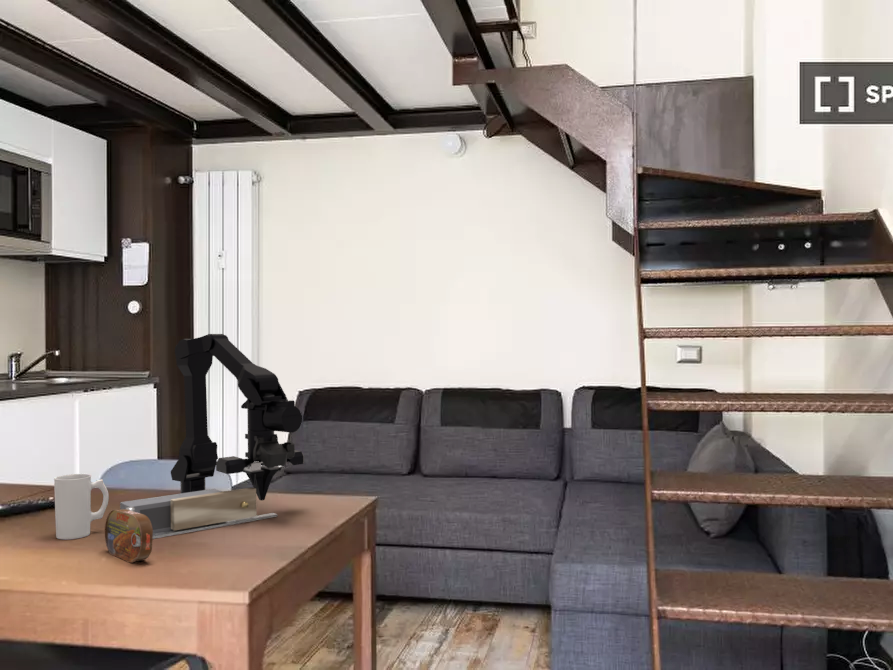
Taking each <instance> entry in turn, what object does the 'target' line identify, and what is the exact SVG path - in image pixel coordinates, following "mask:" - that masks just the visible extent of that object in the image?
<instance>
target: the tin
mask: <svg viewBox="0 0 893 670" xmlns="http://www.w3.org/2000/svg"><path fill="white" fill-rule="evenodd" d="M153 540H154V539H153V528H152V524H151V521H150V520H149V518H148V517H147V516H146V515H144V514H140V513H137V512H134V511H130V510H127V509H122V510H120V509H112V510H111V511H109V512H108V514H107V516H106V520H105V524H104V541H105V545H106V548H107V550H108V553H109V554H110V555H111V556H114V557H116V558H118V559H120V560H123V561H125V562H127V563H132V564H133V563H135V562H140V561H145V560H147V559H148V558H149V557H150V555H151V553H152V551H153V542H154V541H153Z"/></svg>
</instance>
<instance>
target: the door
mask: <svg viewBox="0 0 893 670" xmlns="http://www.w3.org/2000/svg"><path fill="white" fill-rule="evenodd" d="M255 516H257V494H256V488H254V487H253V486H252V487H245V488H238V489H231V490H225V491H222V492H217V493H211V494H204V495H197V496H191V497H184V498H177V499H171V529H172V530H174V531H175V530H181V529H186V528H192V527H198V526H203V525H209V524H215V523H220V522H226V521H232V520H237V519H243V518H249V517H255Z"/></svg>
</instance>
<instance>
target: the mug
mask: <svg viewBox="0 0 893 670" xmlns="http://www.w3.org/2000/svg"><path fill="white" fill-rule="evenodd" d="M53 480H54V485H53V486H54V487H53V488H54V514H55V516H54V517H55V538H57V539H58V540H64V541H65V540H66V541H67V540H75V539H82V538H85V537H88V536H90V535H91V523H92V522H93V521H94V520H101V519H102V518H103V517H104V515H105V512H106V510H107V507H108V505H109V500H110V499H109V498H110V496H109V495H110V494H109V491H108V488H107V487H106V485H105V483H104V481H103V478H102V479H98V480H95V481H94V482H93V481H92V474H88V473H74V474H73V473H72V474H64V475H63V474H62V475H59V476H56V477H53ZM95 488H96V489H99V490H100V491H101V493H102V496H103V497H102V498H103V499H102V504H101V506H100V508H99V509H98V510H97V511H94V512H93V511H92V509H91V506H92V505H91V502H92V501H91V498H92V497H91V495H92V490H93V489H95Z"/></svg>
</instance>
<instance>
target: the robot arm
mask: <svg viewBox="0 0 893 670" xmlns="http://www.w3.org/2000/svg"><path fill="white" fill-rule="evenodd" d="M174 355H175V361H176V366H177V368H178V370H179V371H180V372H181V374H182V376H183V378H184V379H183V381H184V383H183V384H184V408H185V409H184V413H185V414H184V416H185V417H184V418H185V438H184V439H183V441H182V443H181V445H180V446H179V449H178V450H179V452H178V460H177V461H176V463H175V464H174V466H173V468H172V469H171V470H170V476H171V480H172V481H176V482H180V485H179V486H180V494H181V493H188V492H195V491H202V490H207V489H206V478H211V477H214V475H215V472H219V473H223V474H226V475H231V474H240V473H245V474H246V477H248V479H249V481H250V482H251V484H252V488H256V497H257V499H258V500H259V501H265V499H266V497H267V493H268V490H269V487H270V485H271V481H272V480H273V477H274V476H275V475H276V474H277V472H279V471H282V467H286V465H287V463H290V464H291V466H297V465H303V464H305V455H304V453H303V451H300V450H296V449H295V443H294V442H293V441H287V442H286V441H285V442H283V443H279V441H278V440H279V439H278V434H277V433H275V432H280V433H291V434H293V433H295V432H296V431H298V430H299V429H300V427H301V425H302V423H303V415H302V413H301V412H302V411H300V409H299V407H297V406H295V405H296V404H295V403H296V402H295V400H292V399H291V400H289V399H288V397H287V395H286V393H285V391H284V389H283V388H282V386H281V384H280V382H279V378H278V376H277V375H276V373H274V372H272V371H270V370H269V369H267V368H265V367H263V366H259V365H256V364H255V363H254V362H252V361H251V360H250V359H249V358H248V357H247V356H246V355H245V354H244V353H243V352H242V351H241V350H239V348H238V347H236V345H235V344H233V343H232V342H231V341H230V339H229V337H228V336H227V335H226V334H224V333H208V334H206V335H202V336H200V337H196V338H183V339H182V338H181V339H180V340H178V342H177V344H176V345H175V347H174ZM214 357H215V359H216V360H218V362H220V363H221V364H222V365H223V367H224V368H225V369H226V370H227V371H229V372H230V374H232V375H233V376H234V377H235V379H236V380H237V388H238V389H239V390H240V392H241V393H242V394H243V396H244V397H245V398H246V401H244V402H243V403H242V404H241V405H240V408H241V409H246V410H247V412H246V413H247V433H244V439H246V440H247V452H245V454H244V456H245V458H241V457H239V456H238V457H237V456H233V455H232V456H227V457H225V456H224V457H219V456H218V444H217V442H216V441H214V442H213V440H212V439H211V438H210V437H209V431H208V430H209V429H208V427H209V426H208V404H207V403H208V400H207V399H208V398H207V397H208V395H207V375H208V373H209V371H210V369H211V367H212V365H213V359H214Z"/></svg>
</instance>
